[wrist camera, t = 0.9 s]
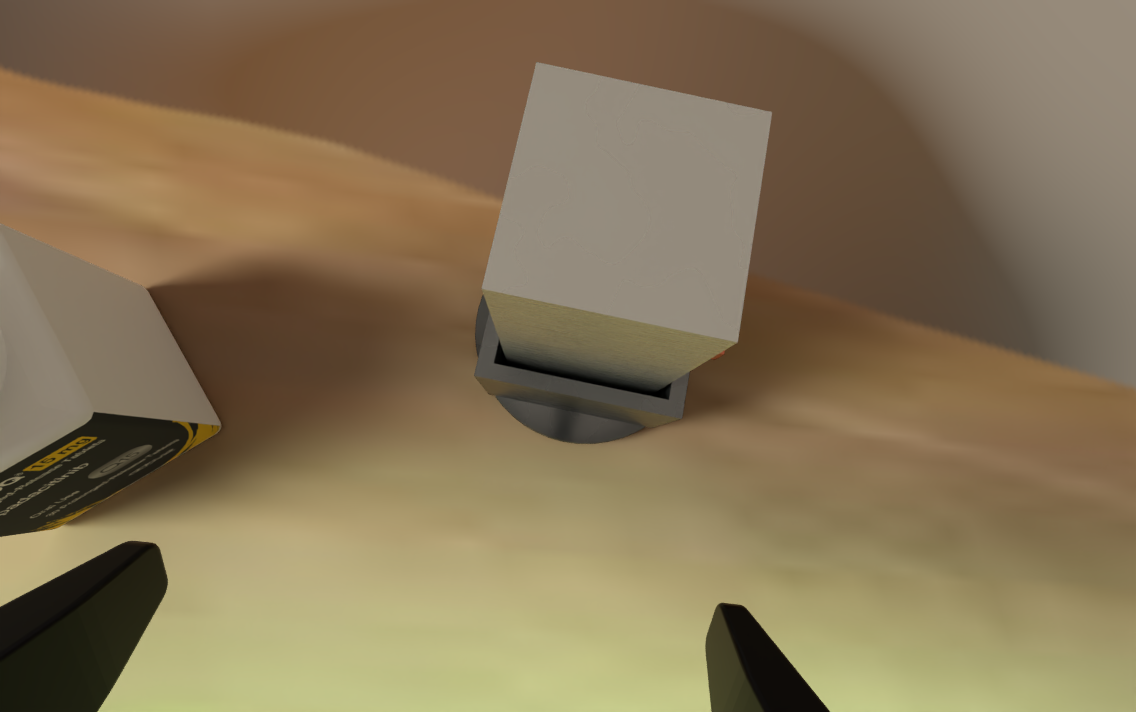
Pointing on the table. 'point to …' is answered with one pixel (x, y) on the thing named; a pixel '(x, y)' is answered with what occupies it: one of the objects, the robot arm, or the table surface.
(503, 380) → the base
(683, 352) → the column
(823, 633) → the table surface
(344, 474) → the table surface
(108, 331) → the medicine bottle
